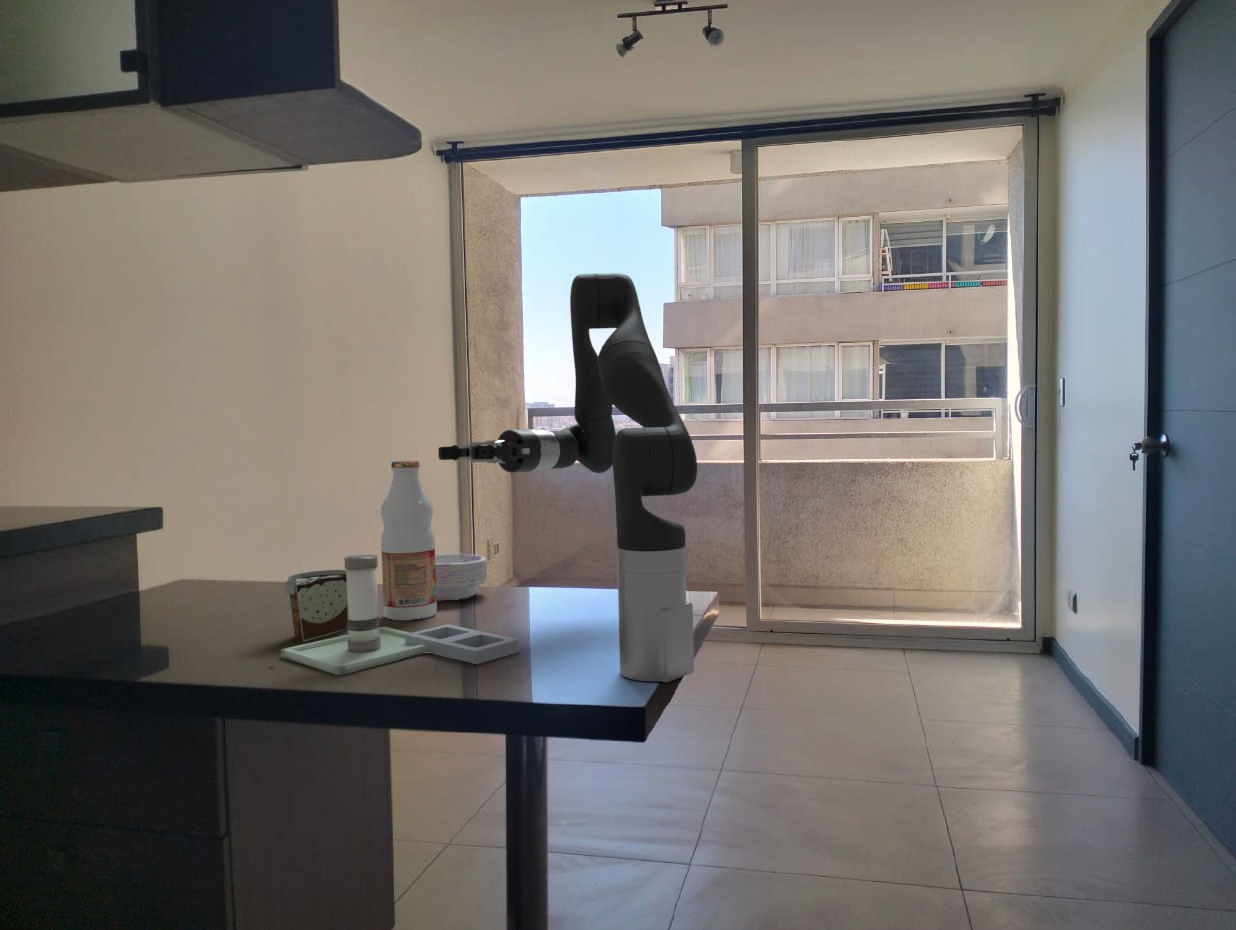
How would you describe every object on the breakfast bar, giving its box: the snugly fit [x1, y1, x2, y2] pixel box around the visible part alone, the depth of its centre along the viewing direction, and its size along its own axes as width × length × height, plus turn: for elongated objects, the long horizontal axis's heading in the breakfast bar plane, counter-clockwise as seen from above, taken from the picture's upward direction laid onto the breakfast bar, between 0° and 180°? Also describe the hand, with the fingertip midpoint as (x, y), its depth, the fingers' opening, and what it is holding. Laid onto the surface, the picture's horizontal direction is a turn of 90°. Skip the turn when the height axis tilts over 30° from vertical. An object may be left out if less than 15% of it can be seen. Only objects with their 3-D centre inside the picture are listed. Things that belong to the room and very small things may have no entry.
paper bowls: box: [435, 553, 488, 602], centre depth 175 cm, size 15×15×8 cm
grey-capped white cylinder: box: [343, 554, 381, 653], centre depth 133 cm, size 5×5×14 cm
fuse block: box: [405, 623, 520, 664], centre depth 134 cm, size 17×8×2 cm, turn 49°
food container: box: [284, 569, 348, 643], centre depth 146 cm, size 12×6×10 cm, turn 149°
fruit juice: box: [380, 460, 438, 621], centre depth 158 cm, size 9×9×28 cm
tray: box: [280, 626, 427, 676], centre depth 133 cm, size 16×18×1 cm
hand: (456, 453), depth 144 cm, fingers open, 8 cm apart
